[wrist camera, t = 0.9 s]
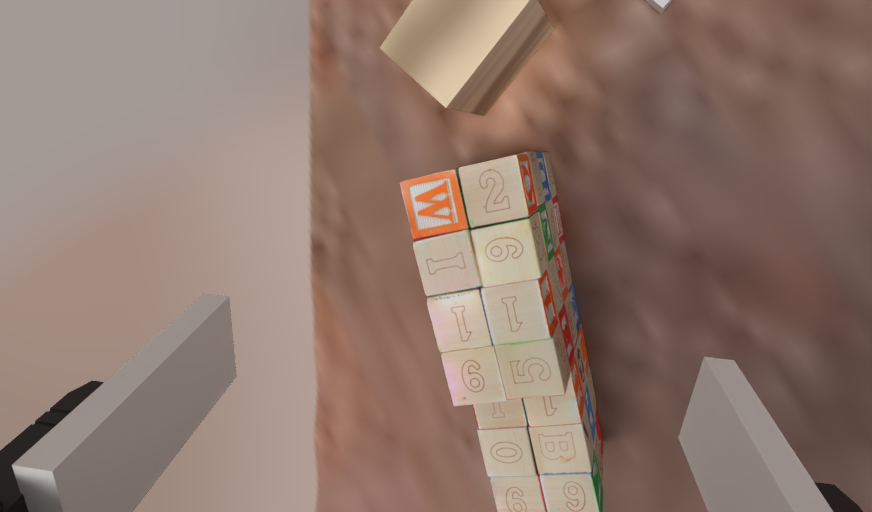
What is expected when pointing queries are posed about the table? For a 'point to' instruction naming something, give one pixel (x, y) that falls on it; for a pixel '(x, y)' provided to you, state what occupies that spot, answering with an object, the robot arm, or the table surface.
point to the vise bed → (659, 4)
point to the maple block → (467, 47)
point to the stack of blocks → (511, 327)
